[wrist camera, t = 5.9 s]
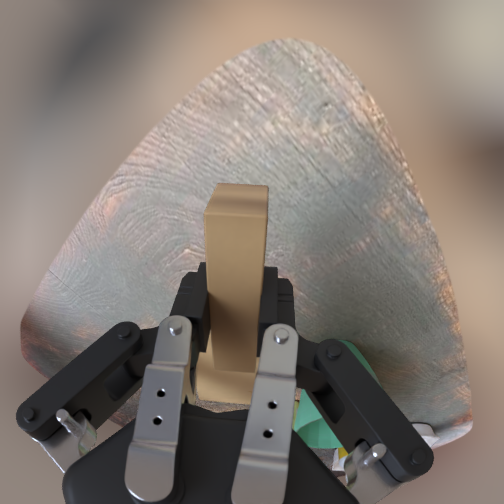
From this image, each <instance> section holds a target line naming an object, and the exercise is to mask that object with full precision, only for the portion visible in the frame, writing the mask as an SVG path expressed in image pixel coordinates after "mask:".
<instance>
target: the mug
mask: <svg viewBox="0 0 504 504" xmlns="http://www.w3.org/2000/svg"><path fill="white" fill-rule="evenodd" d="M339 341H341V342H343V343H344V344H346V345H347V347H348V348H349V349H350V350H351V351H352V353H353V354H354V355H355V356H356V357H357V359H358V360H359V361H360V362H361V363H362V365H363V366H364V367H365V368H366V369H367V371H368V372H369V373H370V374H371V375H372V377H373V378H374V379H375V380H376V382H377V383H378V384H379V385H380V386H381V384H380V382H379V380H378V378H377V377H376V375H375V373H374V372H373V370H372V369H371V367H370V365H369V364H368V362H367V361H366V359H365V358H364V357H363V355H362V354H361V353H360V352H359V350H358V349H357V348H356V347H355V345H354V344H353V343H351V342H349V341H344V340H339ZM381 388H382V386H381ZM382 389H383V388H382ZM294 431H296V433H297V434H298V435H299V436H300V437H301V438H302V439H303V441H304V442H305V443H306V444H307V445H308V446H309V447H314V448H340V447H343V446H342V445H341V443H340V442H339V440H338V439H337V437H336V436H335V435H334V433H333V432H332V430H331V429H330V427H329V426H328V424H327V423H326V422H325V420H324V419H323V417H322V416H321V414H320V413H319V411H318V410H317V408H316V407H315V405H314V404H313V402H312V401H311V400H310V398H309V397H308V395H307V394H306V392H305V390H304V389H302V393H301V398H300V403H299V407H298V411H297V415H296V420H295V424H294Z"/></svg>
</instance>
